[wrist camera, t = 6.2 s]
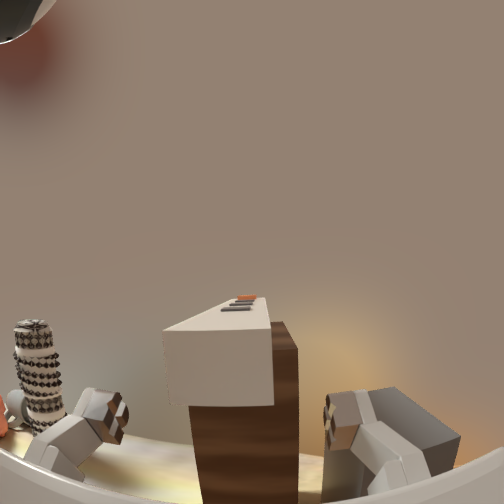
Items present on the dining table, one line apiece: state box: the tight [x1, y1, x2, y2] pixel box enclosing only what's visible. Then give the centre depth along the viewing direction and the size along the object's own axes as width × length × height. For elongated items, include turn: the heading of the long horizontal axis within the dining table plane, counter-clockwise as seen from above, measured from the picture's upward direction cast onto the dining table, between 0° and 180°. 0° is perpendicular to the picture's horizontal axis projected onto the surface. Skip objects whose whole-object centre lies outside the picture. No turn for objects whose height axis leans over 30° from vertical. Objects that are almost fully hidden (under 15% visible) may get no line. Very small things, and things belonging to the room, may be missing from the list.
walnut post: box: [189, 322, 299, 504], centre depth 27 cm, size 16×8×26 cm, turn 178°
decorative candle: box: [13, 319, 67, 437], centre depth 40 cm, size 9×9×25 cm
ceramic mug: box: [4, 390, 30, 428], centre depth 45 cm, size 11×8×8 cm
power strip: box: [162, 295, 274, 407], centre depth 23 cm, size 26×4×4 cm, turn 178°
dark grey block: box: [321, 387, 461, 504], centre depth 21 cm, size 14×8×18 cm, turn 178°
